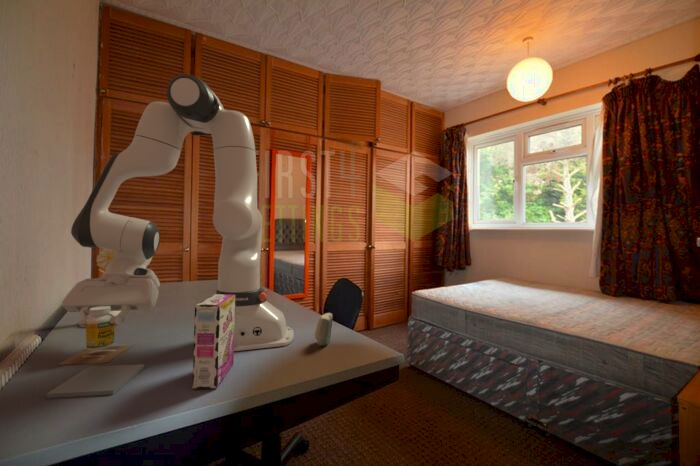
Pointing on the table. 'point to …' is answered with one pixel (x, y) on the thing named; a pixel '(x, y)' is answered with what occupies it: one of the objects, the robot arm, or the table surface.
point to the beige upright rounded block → (324, 329)
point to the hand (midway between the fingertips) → (98, 325)
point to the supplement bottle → (99, 329)
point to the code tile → (96, 356)
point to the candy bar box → (213, 340)
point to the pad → (96, 381)
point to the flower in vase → (104, 261)
